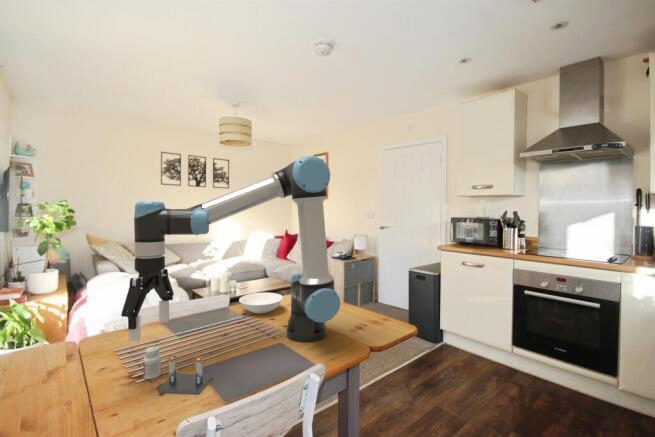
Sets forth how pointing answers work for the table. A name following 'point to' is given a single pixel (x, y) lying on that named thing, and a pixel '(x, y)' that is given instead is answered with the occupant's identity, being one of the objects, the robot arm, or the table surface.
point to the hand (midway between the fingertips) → (150, 330)
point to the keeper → (185, 379)
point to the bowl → (261, 302)
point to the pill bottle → (152, 363)
